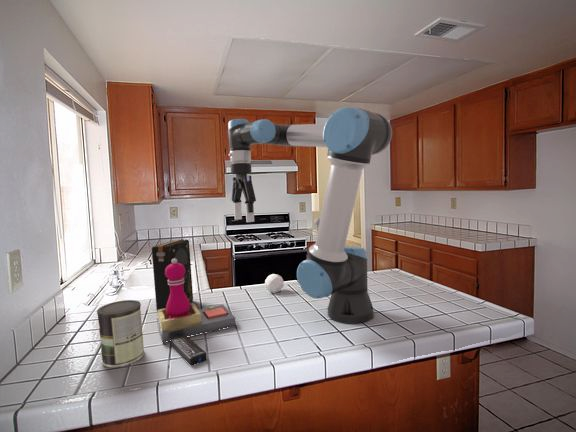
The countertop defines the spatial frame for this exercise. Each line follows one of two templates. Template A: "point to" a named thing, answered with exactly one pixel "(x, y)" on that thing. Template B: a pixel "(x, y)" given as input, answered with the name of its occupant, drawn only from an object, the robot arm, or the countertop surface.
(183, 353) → the multiport hub
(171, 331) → the grey board with box
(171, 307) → the pepper mill
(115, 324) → the coffee can
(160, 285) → the voltmeter
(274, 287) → the ball
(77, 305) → the countertop surface
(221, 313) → the button
